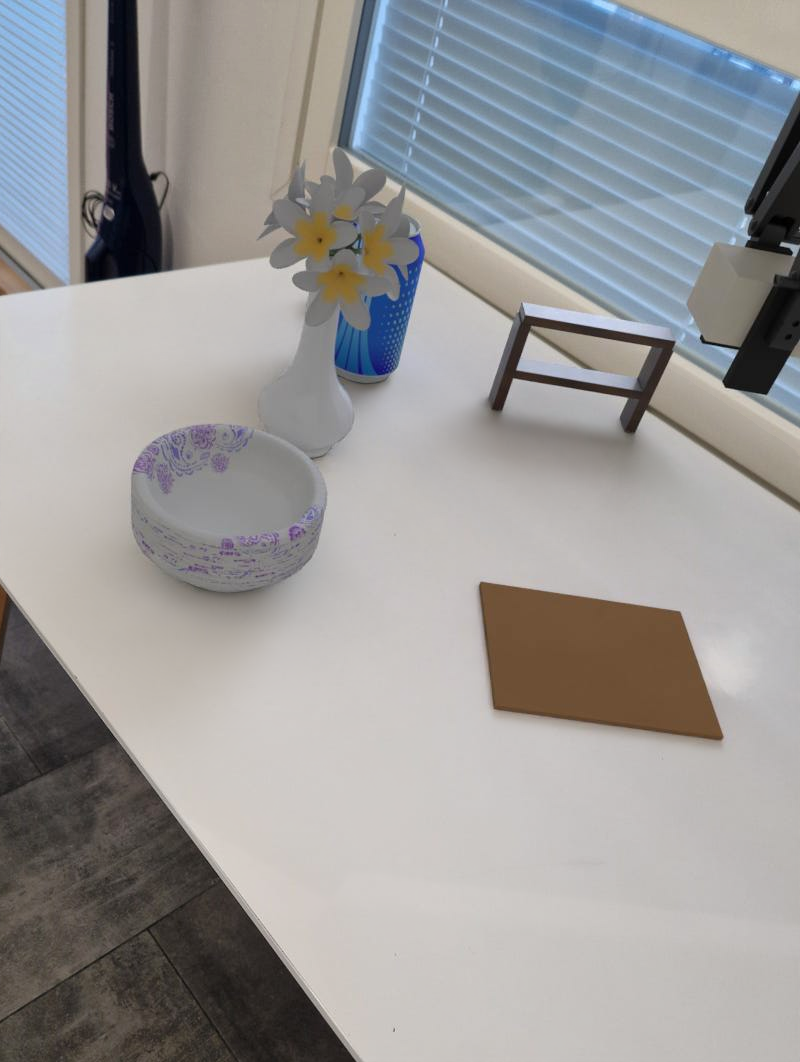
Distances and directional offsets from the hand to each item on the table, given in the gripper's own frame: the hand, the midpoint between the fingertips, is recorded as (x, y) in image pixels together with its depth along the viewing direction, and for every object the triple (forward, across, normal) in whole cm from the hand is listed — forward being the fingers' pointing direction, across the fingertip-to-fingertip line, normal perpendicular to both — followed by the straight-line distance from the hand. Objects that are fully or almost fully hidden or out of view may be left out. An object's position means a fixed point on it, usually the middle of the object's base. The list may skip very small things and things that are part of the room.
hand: (732, 364), depth 57 cm
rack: (+25, -35, +3) cm, 43 cm away
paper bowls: (+25, -3, -31) cm, 40 cm away
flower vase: (+25, -21, -25) cm, 41 cm away
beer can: (+25, -38, -20) cm, 50 cm away
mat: (+25, +3, 0) cm, 25 cm away
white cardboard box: (-2, 0, 0) cm, 2 cm away
